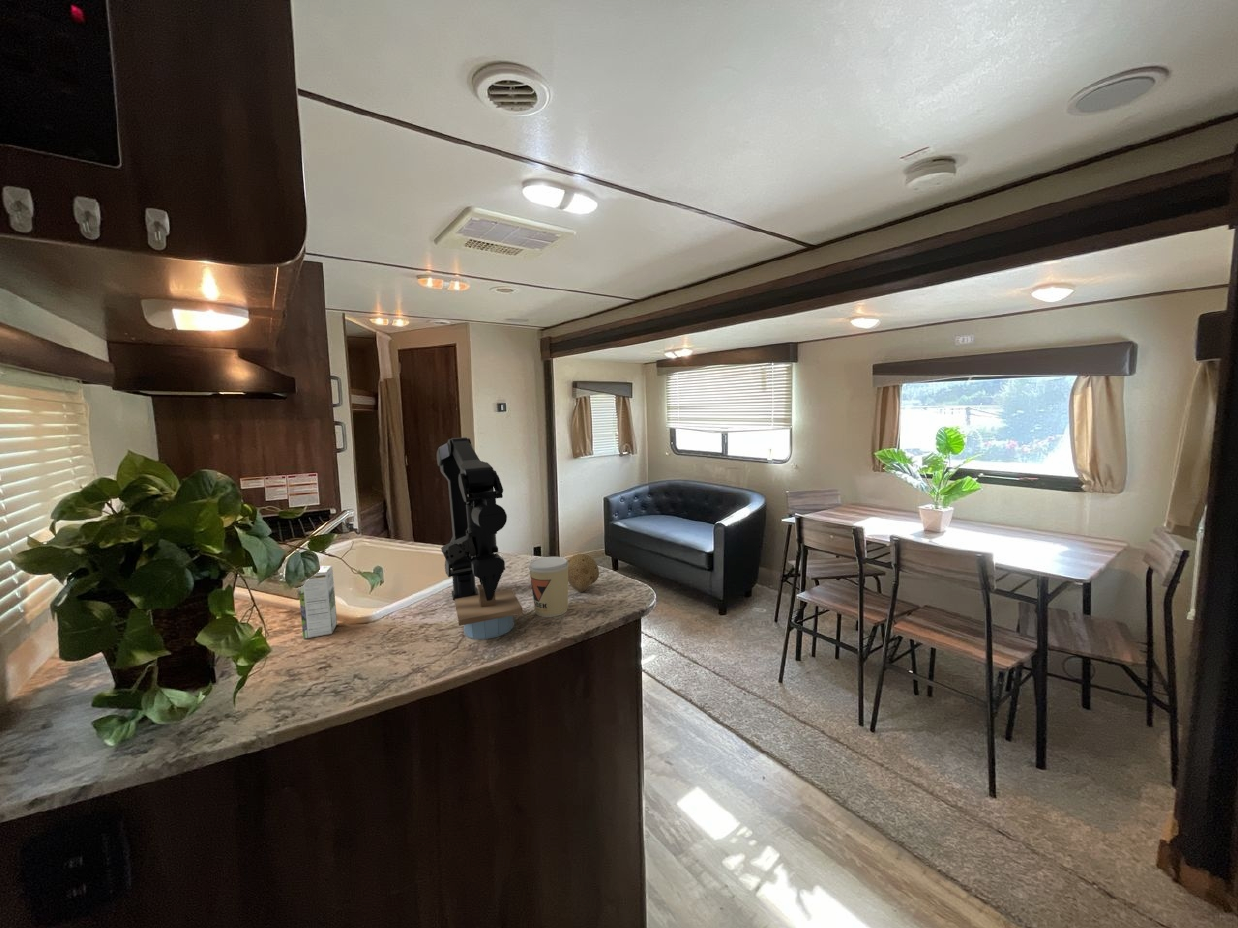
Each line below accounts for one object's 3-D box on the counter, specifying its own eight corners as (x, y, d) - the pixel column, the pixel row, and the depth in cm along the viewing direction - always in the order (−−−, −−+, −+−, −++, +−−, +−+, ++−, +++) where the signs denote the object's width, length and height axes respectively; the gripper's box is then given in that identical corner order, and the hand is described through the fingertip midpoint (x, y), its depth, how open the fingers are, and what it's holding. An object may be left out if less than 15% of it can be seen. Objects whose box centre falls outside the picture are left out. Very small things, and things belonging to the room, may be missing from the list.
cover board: (454, 604, 110) (453, 582, 109) (512, 593, 115) (510, 572, 114) (459, 625, 98) (457, 601, 97) (522, 613, 103) (521, 589, 102)
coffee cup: (524, 611, 115) (521, 562, 114) (556, 600, 121) (553, 553, 120) (545, 622, 108) (542, 570, 107) (578, 609, 114) (576, 561, 113)
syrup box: (309, 629, 110) (302, 568, 109) (338, 624, 112) (332, 564, 111) (302, 639, 105) (295, 575, 104) (333, 634, 107) (326, 571, 106)
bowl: (462, 624, 109) (461, 605, 109) (508, 615, 113) (507, 596, 113) (467, 643, 100) (465, 622, 99) (517, 632, 104) (515, 612, 103)
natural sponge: (585, 582, 134) (583, 547, 133) (607, 589, 127) (605, 553, 126) (559, 591, 128) (557, 554, 127) (580, 599, 121) (578, 561, 120)
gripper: (440, 520, 110) (445, 586, 111) (444, 538, 93) (450, 616, 94) (490, 515, 114) (494, 578, 115) (502, 530, 97) (507, 605, 98)
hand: (486, 593), depth 106 cm, fingers open, 9 cm apart
